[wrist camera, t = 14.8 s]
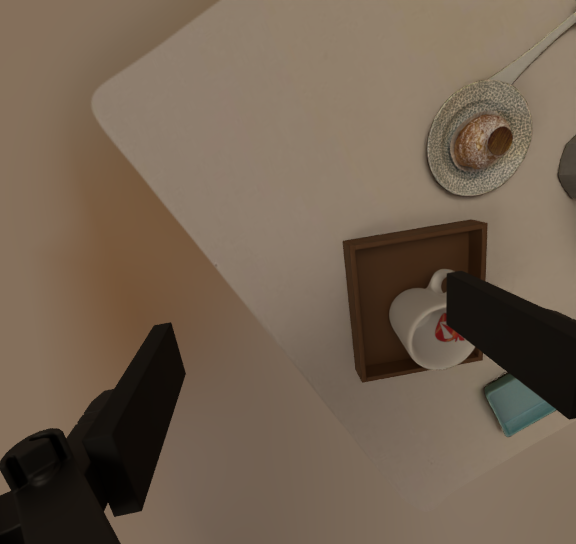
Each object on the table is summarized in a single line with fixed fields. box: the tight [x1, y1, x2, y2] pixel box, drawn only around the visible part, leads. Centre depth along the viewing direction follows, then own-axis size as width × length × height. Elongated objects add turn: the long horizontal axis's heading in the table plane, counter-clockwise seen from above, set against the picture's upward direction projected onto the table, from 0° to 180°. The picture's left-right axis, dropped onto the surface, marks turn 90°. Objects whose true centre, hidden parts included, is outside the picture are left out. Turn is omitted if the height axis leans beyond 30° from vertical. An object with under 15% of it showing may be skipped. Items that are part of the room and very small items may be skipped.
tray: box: [343, 220, 487, 383], centre depth 41 cm, size 16×18×3 cm
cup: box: [389, 269, 475, 370], centre depth 38 cm, size 11×8×8 cm
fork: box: [488, 12, 576, 85], centre depth 35 cm, size 3×21×3 cm, turn 132°
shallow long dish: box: [485, 373, 556, 437], centre depth 46 cm, size 26×9×2 cm, turn 121°
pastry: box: [427, 80, 532, 196], centre depth 35 cm, size 12×12×5 cm
